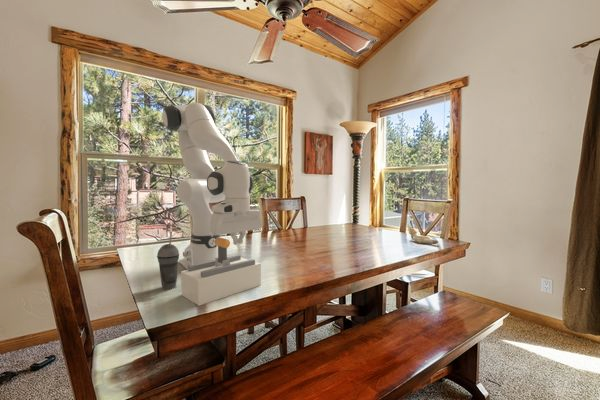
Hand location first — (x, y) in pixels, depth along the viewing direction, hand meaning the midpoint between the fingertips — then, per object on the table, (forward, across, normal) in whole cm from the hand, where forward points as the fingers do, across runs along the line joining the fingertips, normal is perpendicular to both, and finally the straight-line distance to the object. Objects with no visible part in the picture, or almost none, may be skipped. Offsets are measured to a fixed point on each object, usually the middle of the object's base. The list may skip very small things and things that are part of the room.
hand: (238, 244), depth 103 cm
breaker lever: (+6, +6, 0) cm, 9 cm away
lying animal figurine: (+16, -121, +21) cm, 123 cm away
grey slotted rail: (+7, +6, 0) cm, 10 cm away
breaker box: (+15, +6, 0) cm, 16 cm away
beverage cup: (+15, +18, -16) cm, 29 cm away
